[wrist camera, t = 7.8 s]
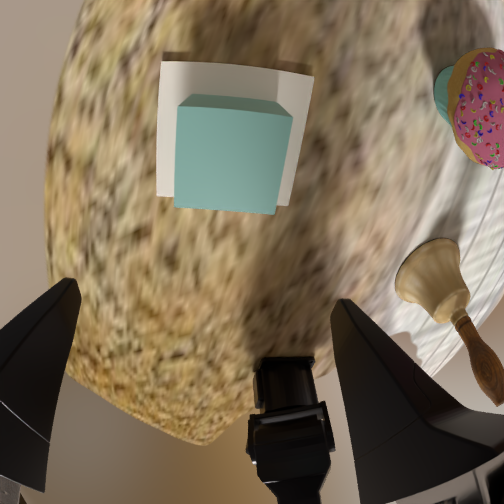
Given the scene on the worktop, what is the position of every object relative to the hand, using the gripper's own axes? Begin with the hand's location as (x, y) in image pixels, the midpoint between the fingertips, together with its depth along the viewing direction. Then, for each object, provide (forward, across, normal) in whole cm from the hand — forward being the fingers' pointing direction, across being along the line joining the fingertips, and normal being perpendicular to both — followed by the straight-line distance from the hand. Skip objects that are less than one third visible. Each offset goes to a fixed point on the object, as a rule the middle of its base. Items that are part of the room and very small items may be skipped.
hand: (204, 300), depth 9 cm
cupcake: (+12, -16, -10) cm, 23 cm away
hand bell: (+12, -22, +7) cm, 26 cm away
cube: (+11, 0, -2) cm, 11 cm away
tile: (+12, 0, -2) cm, 12 cm away
